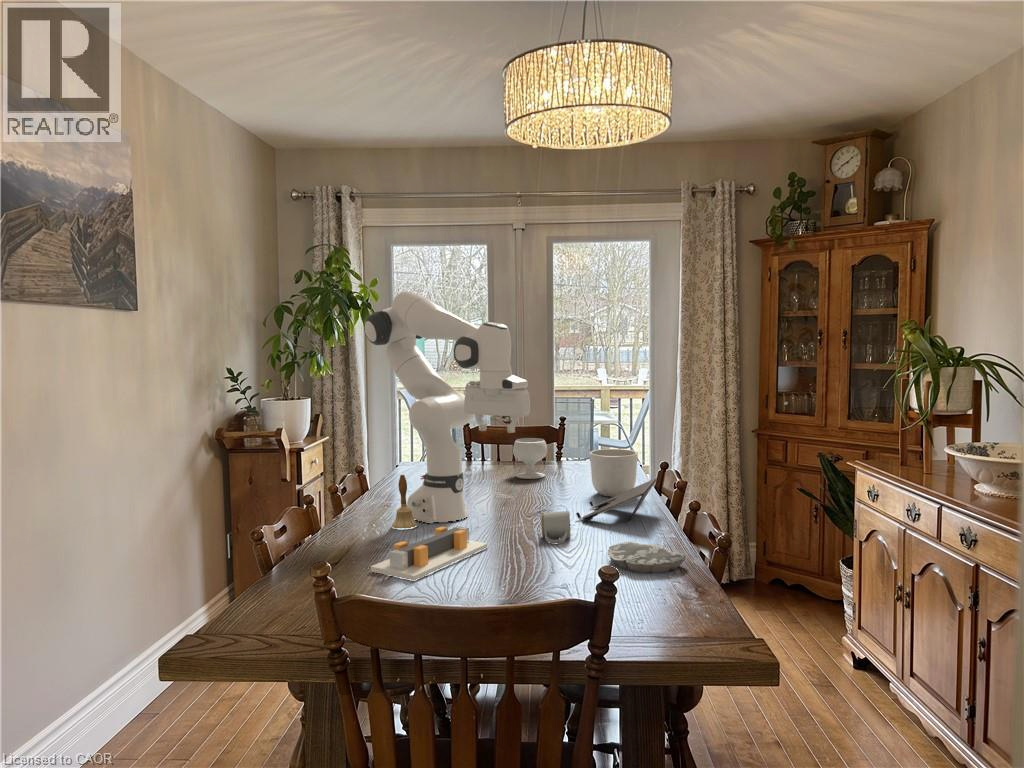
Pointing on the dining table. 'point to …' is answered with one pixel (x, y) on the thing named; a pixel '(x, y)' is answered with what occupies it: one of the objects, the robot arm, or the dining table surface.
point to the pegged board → (429, 565)
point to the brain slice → (644, 557)
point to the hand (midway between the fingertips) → (496, 431)
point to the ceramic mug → (556, 526)
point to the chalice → (530, 455)
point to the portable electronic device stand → (621, 500)
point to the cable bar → (435, 545)
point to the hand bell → (403, 508)
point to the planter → (613, 470)
